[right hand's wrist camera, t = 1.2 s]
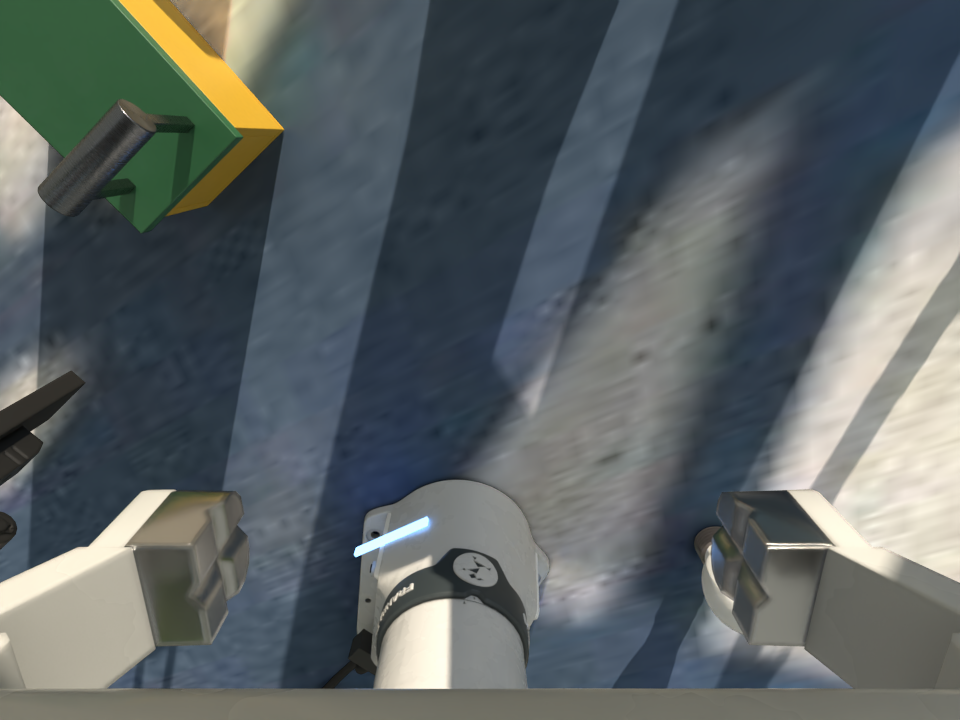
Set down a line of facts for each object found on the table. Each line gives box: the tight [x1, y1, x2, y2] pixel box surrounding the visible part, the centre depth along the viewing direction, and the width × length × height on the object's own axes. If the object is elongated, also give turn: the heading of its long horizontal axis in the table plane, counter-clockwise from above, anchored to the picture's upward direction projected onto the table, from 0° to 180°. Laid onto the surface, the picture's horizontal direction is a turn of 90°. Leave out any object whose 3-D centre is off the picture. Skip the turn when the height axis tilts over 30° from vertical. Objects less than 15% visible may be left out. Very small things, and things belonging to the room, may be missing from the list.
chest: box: [119, 0, 284, 216], centre depth 42 cm, size 15×9×10 cm, turn 40°
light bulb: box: [694, 527, 743, 634], centre depth 55 cm, size 7×7×11 cm
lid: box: [0, 0, 243, 233], centre depth 33 cm, size 16×9×8 cm, turn 40°
